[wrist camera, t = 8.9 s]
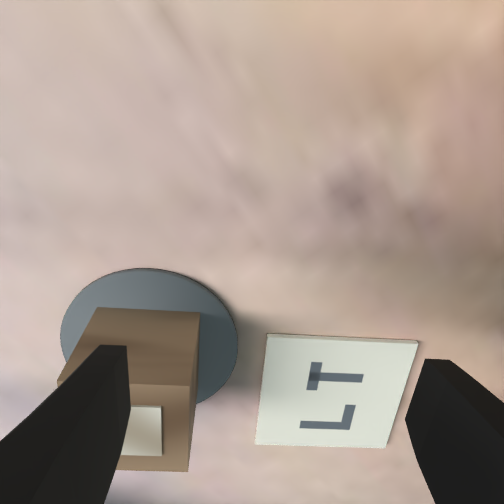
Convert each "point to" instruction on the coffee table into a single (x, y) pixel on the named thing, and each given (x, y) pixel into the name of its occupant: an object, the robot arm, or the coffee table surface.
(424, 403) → the robot arm
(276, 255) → the coffee table surface
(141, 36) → the coffee table surface
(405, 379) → the tile
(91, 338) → the walnut block
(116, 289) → the slate coaster
